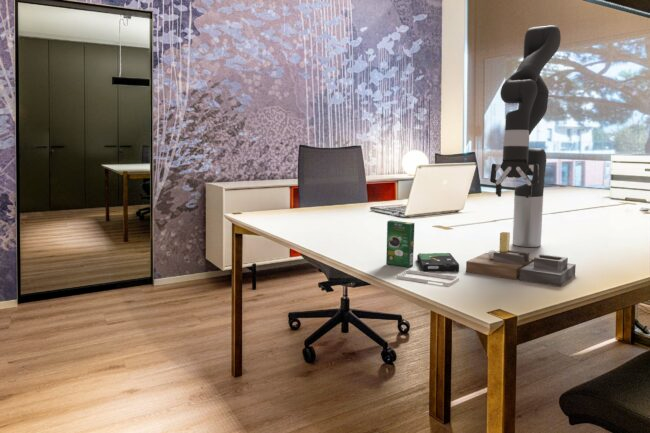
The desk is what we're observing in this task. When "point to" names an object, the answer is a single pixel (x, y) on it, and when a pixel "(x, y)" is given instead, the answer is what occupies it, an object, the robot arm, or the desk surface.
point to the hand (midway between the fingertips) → (513, 197)
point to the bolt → (503, 245)
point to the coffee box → (400, 243)
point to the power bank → (429, 275)
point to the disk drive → (437, 262)
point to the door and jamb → (524, 267)
